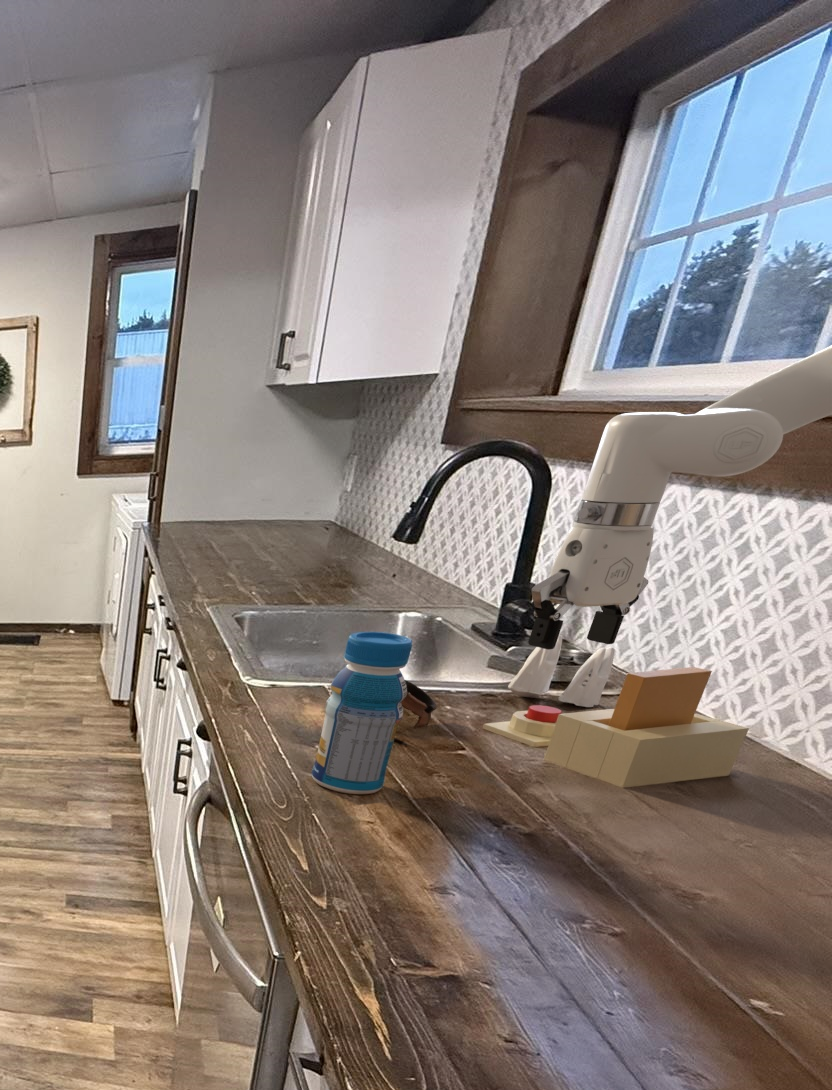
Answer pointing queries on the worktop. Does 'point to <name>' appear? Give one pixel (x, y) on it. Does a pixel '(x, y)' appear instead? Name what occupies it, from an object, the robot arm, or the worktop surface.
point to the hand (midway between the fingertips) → (570, 644)
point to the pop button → (543, 713)
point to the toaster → (644, 749)
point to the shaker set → (581, 688)
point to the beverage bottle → (363, 714)
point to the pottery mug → (418, 704)
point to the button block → (523, 729)
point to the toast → (659, 698)
